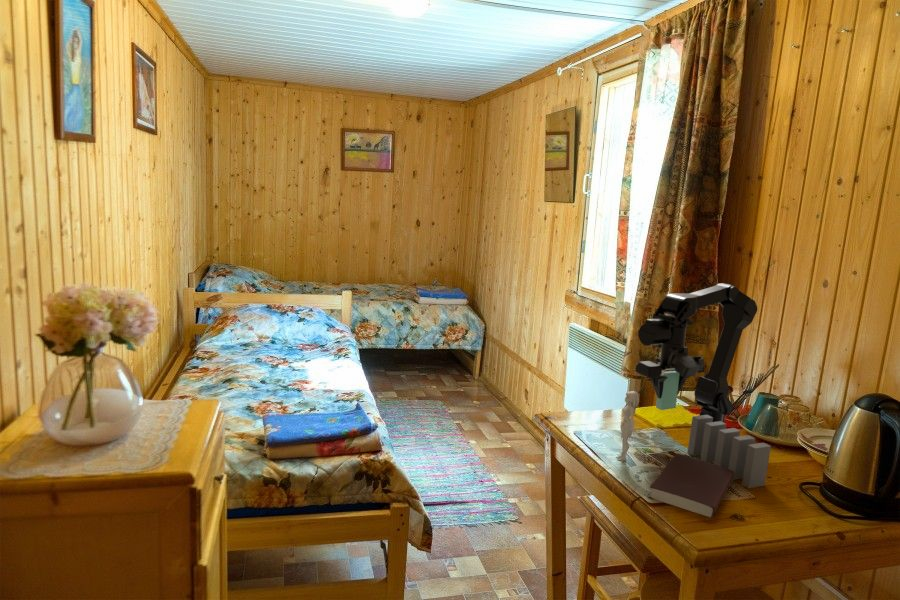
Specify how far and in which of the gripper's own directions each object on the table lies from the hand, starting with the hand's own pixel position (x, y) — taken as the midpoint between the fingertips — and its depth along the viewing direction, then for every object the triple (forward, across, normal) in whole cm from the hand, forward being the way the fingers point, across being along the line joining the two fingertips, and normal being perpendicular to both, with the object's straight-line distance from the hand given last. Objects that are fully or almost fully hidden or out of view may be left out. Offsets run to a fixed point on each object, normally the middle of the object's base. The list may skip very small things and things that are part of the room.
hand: (667, 397), depth 169 cm
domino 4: (+12, +3, -24) cm, 27 cm away
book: (+12, -13, -26) cm, 31 cm away
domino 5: (+12, +3, -28) cm, 31 cm away
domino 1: (+12, +3, -10) cm, 16 cm away
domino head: (+3, 0, 0) cm, 3 cm away
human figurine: (+12, -19, -8) cm, 24 cm away
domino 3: (+12, +3, -19) cm, 23 cm away
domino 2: (+12, +3, -14) cm, 19 cm away
